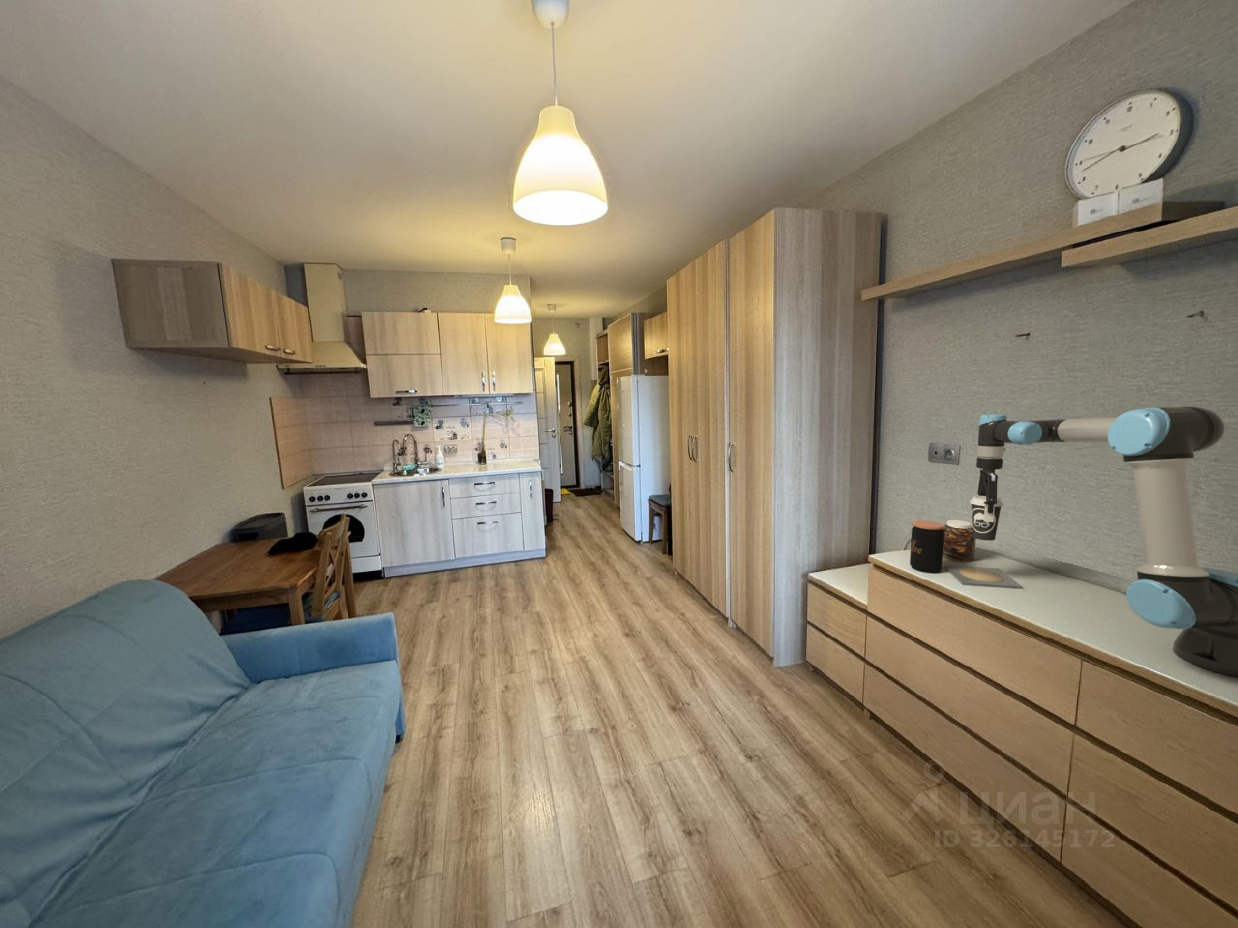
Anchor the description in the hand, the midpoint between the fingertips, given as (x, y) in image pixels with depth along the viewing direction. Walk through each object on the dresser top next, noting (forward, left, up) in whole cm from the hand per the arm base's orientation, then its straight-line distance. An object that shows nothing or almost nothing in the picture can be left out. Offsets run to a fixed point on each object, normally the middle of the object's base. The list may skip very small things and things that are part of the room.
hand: (985, 518), depth 171 cm
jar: (+22, +4, -23) cm, 32 cm away
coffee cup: (0, 0, -8) cm, 8 cm away
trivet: (0, 0, -23) cm, 23 cm away
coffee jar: (+3, +17, -23) cm, 29 cm away
